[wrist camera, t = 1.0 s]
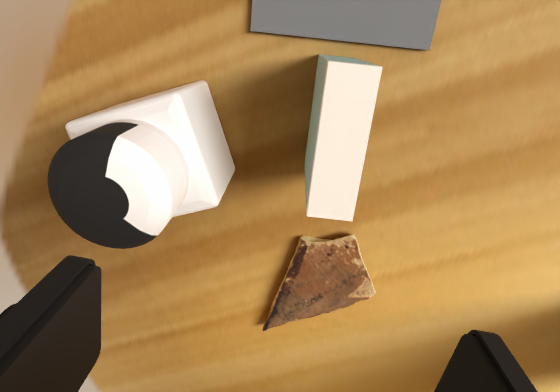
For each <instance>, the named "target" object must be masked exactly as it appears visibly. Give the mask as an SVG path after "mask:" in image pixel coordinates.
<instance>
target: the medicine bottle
mask: <svg viewBox="0 0 560 392" xmlns="http://www.w3.org/2000/svg"><path fill="white" fill-rule="evenodd" d="M65 128H66V131H67V133H68V135H69V137H70V139H71V140H70V141H68V142H67V143H65V144H64V145H63V146H62V147H61V148H60V149H59V150H58V151H57V152H56V154H55V155H54V157H53V159H52V161H51V164H50V167H49V172H48V188H49V193H50V197H51V200H52V202H53V205H54V207H55V209H56V211H57V213H58V214H59V216H60V217H61V218H62V220H63V221H64V222H65V223H66V224H67V225H68V226H69V227H70V228H71V229H72V230H73V231H74V232H75V233H77V234H78V235H80V236H81V237H83V238H85V239H87V240H88V241H91V242H93V243H96V244H98V245H102V246H105V247H110V248H121V249H125V248H133V247H137V246H141V245H143V244H146V243H148V242H149V241H151V240H153V239H154V238H155V237H156V236H158V235H159V234H160V232H161V231H162V230H163V229H164V227H165V226H166V225H167V223H168V222H169V220H170V219H171V218H172V217H176V216H180V215H184V214H189V213H193V212H197V211H201V210H206V209H210V208H214V207H216V206H218V204H219V202H220V200H221V198H222V196H223V194H224V192H225V190H226V188H227V186H228V183H229V181H230V179H231V177H232V175H233V173H234V171H235V166H234V163H233V160H232V157H231V154H230V151H229V147H228V144H227V141H226V138H225V135H224V132H223V129H222V126H221V123H220V120H219V117H218V114H217V111H216V108H215V105H214V102H213V99H212V96H211V93H210V90H209V87H208V84H207V83H206V81H204V80H200V81H196V82H193V83H189V84H186V85H183V86H179V87H176V88H172V89H169V90H165V91H162V92H158V93H155V94H151V95H148V96H144V97H141V98H138V99H134V100H131V101H127V102H124V103H120V104H117V105H114V106H112V107H109V108H106V109H103V110H100V111H98V112H95V113H92V114H89V115H86V116H84V117H81V118H78V119H75V120H72V121H70V122H68V123H67V124H66V126H65Z"/></svg>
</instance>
